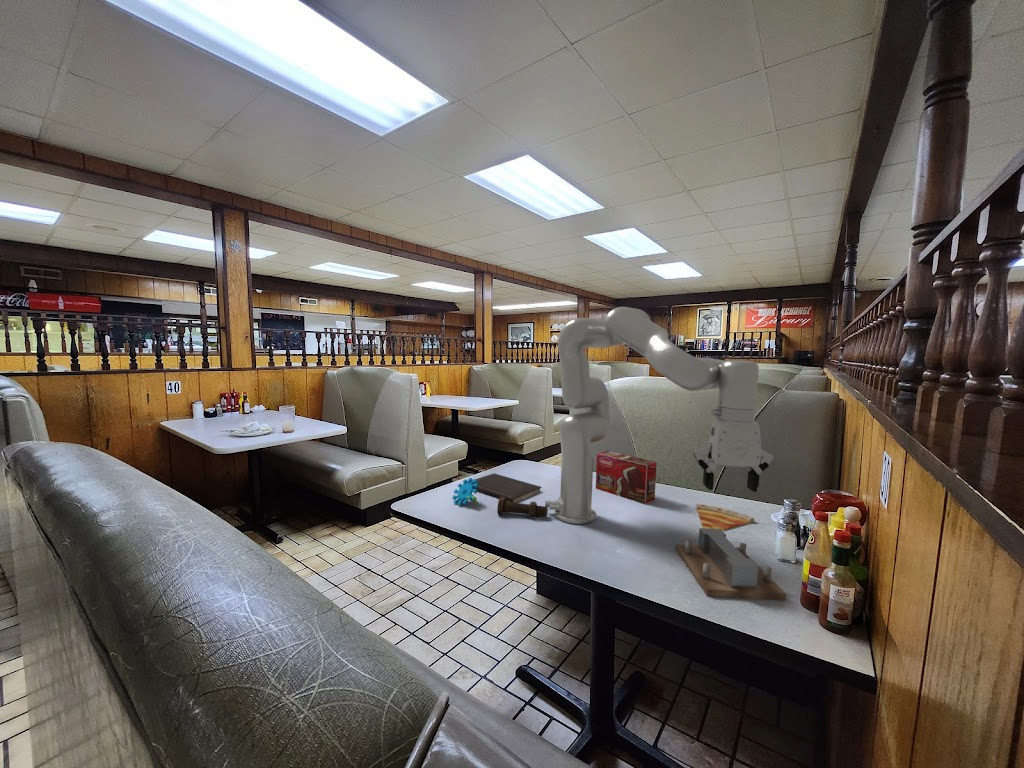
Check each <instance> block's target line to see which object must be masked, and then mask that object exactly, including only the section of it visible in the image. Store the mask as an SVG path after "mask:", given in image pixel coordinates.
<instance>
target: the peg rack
mask: <svg viewBox="0 0 1024 768" xmlns="http://www.w3.org/2000/svg"><path fill="white" fill-rule="evenodd" d="M736 548H737V549H738V550H739V551H740V552H741V553H742V554H743V555H744V556H745V557H746V558H747V559H751V560H752V561H753V562H754V563H755V564H756V565H757V566H758V575H757V587H756V589H746V588H731V587H730V586H729V585H728V583H727V582H726V581H725V580H724V576H725V575H724V574H723V573H722V572H721V570H720V569H719V568H718V567H717V566H716V564H715V563H714V562H713V561H712V560H711V558H710V557H709V556H708V555H707V553H703V552H702V551H701V550H700V549H699V548H698V544H697V545H696V544H693V542H692V541H691V540H689V539H686V540H685V544H679V543H678V544H677V543H676V544H675V551H676V553H677V552H678V553H677V554H678V556H679V555H680V556H679V557H680V558H682V559H681V561H682V562H683V561H684V562H683V564H684V565H685V564H686V565H685V566H686V567H688V568H689V569H688V568H687V569H688V571H689V572H690V571H691V572H690V573H691V575H692V574H693V575H692V577H693V578H694V577H695V578H694V580H695V581H696V582H697V584H698V585H699V586H700V589H701V590H702V591H703V592H704V593H705V595H706V597H718V598H723V597H724V598H735V599H736V598H738V599H753V600H754V599H755V600H756V599H757V600H772V601H773V600H774V601H786V599H787V593H786V591H784V589H782V588H781V587H780V586H779V584H777V583H776V582H775V581H774V580H773V579H772V571H773V570H772V567H770V566H767V565H765V566H764V567H763V568H762V567H760V566H759V565H758V564H757V563H756V562H755V561H754V560H753V559H752V558H751V557H750V556H749V555H748V554H747V544H746V543H744V542H740V543H739V547H737V546H736Z"/></svg>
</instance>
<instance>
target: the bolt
mask: <svg viewBox="0 0 1024 768" xmlns="http://www.w3.org/2000/svg"><path fill="white" fill-rule="evenodd" d="M496 510H497V511H496V512H497V515H498V516H501V517H503V516H504V513H507V514H508V513H511V514H519V515H527V516H528V518H530V519H535V518H536V517H543V518H546V517H548V513H549V507H545V505H538V503H537V502H536V501H531V502H529V503H521V502H520V503H519V502H510V501H506V499H505V497H500V498H499V499H498V501H497V509H496Z"/></svg>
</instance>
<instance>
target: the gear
mask: <svg viewBox="0 0 1024 768" xmlns="http://www.w3.org/2000/svg"><path fill="white" fill-rule="evenodd" d="M476 479H477V478H474V479H473V478H472V477H468V479H463V480H462V483H459V484H457V488H458V489H457V488H456V489H454V490H453V493H454V494H453V495H452V500H453V503H454V504H455V505H458V506H460V507H461V506H462V505H463V504H464V505H467V504H468V503H469V501H471V503H473V504H476V505H477V506H480V505H481V504H480V503H479V502H478V501H477V497H476V496H475V495H476V494H477V493H478V492H477V490H476V489H473V488H474V487H476V488H478V485H479V484H478V483H477V481H476ZM474 483H475V484H474ZM473 484H474V485H473ZM456 494H457V495H456ZM473 494H475V495H473Z"/></svg>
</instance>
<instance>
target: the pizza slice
mask: <svg viewBox="0 0 1024 768" xmlns="http://www.w3.org/2000/svg"><path fill="white" fill-rule="evenodd" d="M695 509H696V513H697V512H698V513H697V514H698V515H699V516H698V515H697V516H698V518H700V519H699V522H700V521H701V522H700V525H701V524H702V525H701V528H702V527H703V528H706V529H721V530H725V531H728V530H731V528H732V529H735V528H738V526H739V527H742V526H745V524H746V525H750V524H752V523H751V522H753V523H755V519H754V517H752V516H749V515H746V514H743V513H741V512H737V511H734V510H729V509H726V508H724V507H723V508H722V507H717V506H713V505H707V504H702V503H696V504H695ZM734 527H735V528H734ZM727 529H728V530H727Z"/></svg>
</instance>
